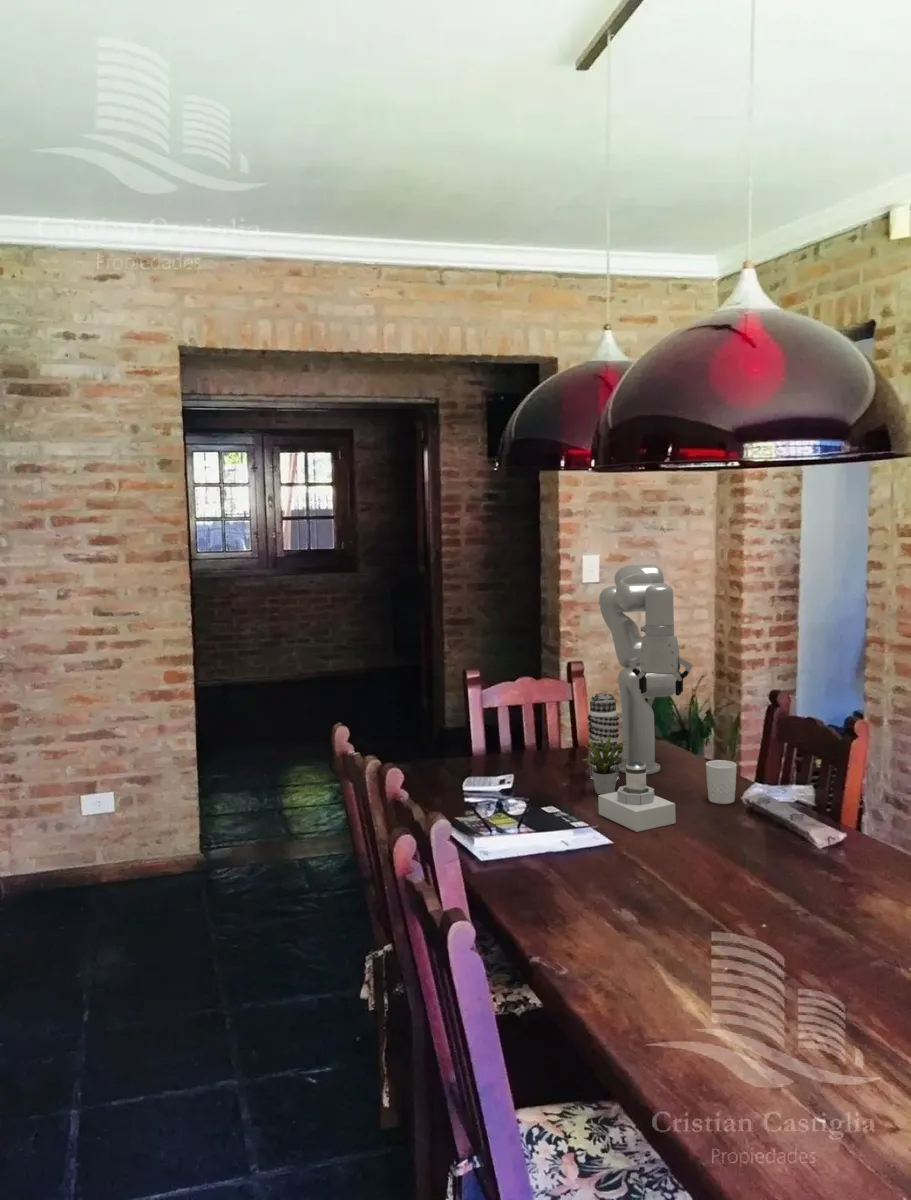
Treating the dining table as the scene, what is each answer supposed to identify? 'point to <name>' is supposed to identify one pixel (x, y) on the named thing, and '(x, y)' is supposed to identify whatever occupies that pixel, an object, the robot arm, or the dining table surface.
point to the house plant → (604, 767)
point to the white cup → (721, 781)
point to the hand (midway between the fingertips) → (661, 693)
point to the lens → (636, 777)
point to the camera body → (637, 809)
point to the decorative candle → (603, 725)
